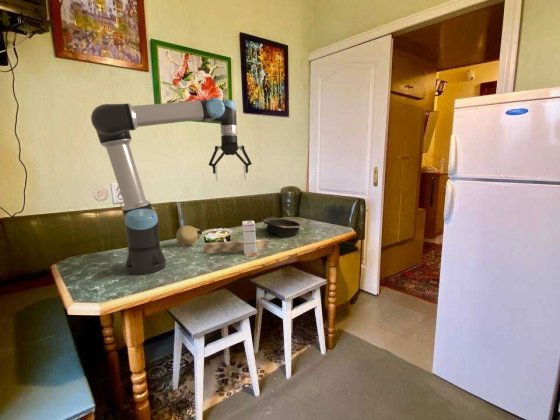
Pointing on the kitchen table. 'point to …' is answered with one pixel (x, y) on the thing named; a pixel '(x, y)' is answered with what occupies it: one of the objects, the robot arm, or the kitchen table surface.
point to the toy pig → (188, 235)
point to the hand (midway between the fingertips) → (231, 180)
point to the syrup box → (249, 237)
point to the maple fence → (232, 247)
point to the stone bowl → (282, 226)
